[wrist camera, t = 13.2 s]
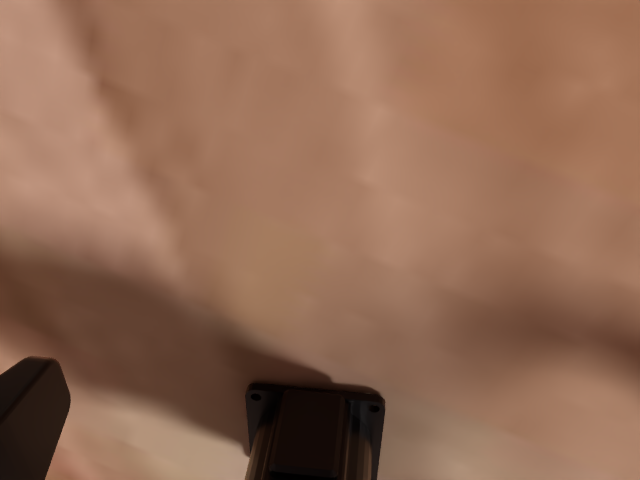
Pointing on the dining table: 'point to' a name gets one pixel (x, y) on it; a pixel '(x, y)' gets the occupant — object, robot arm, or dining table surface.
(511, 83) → the dining table surface
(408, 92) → the dining table surface
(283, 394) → the robot arm
